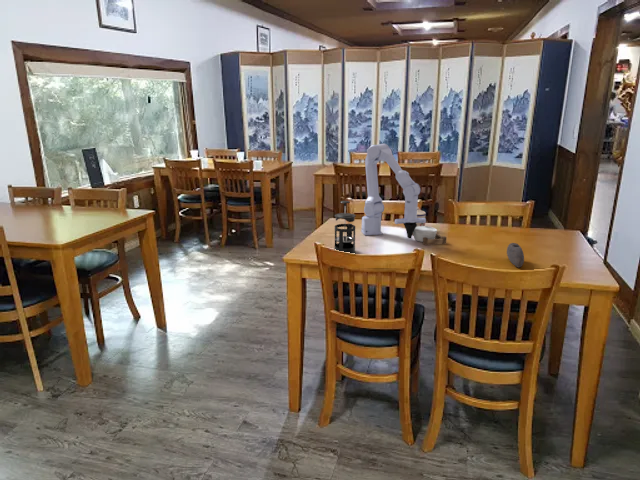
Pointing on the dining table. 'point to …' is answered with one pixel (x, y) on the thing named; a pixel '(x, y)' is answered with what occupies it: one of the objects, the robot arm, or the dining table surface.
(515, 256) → the perforated stone tool
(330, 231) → the dining table surface
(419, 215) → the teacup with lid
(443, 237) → the walnut cradle
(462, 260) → the dining table surface
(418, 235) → the ramekin
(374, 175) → the robot arm
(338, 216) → the french press
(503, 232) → the dining table surface
